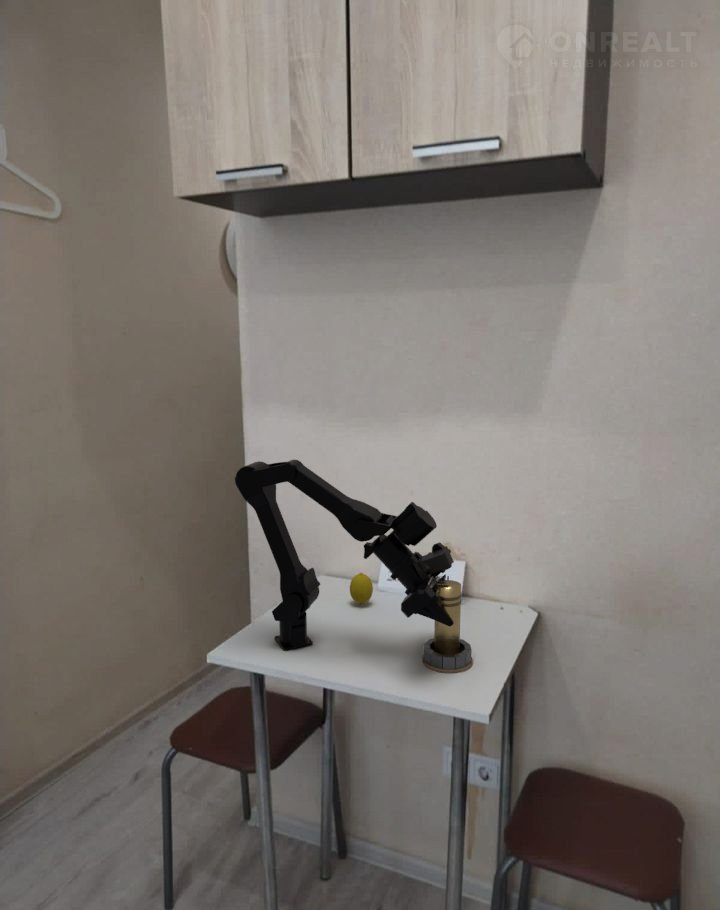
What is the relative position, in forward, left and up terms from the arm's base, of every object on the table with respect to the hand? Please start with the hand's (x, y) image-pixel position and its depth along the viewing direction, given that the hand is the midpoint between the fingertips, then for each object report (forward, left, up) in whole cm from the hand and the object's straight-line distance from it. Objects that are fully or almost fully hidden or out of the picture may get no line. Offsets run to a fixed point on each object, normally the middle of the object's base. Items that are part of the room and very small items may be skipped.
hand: (454, 619), depth 130 cm
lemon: (-35, -3, -9) cm, 36 cm away
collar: (-1, -1, -9) cm, 9 cm away
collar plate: (-1, -1, -9) cm, 9 cm away
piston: (-1, -1, -7) cm, 7 cm away
